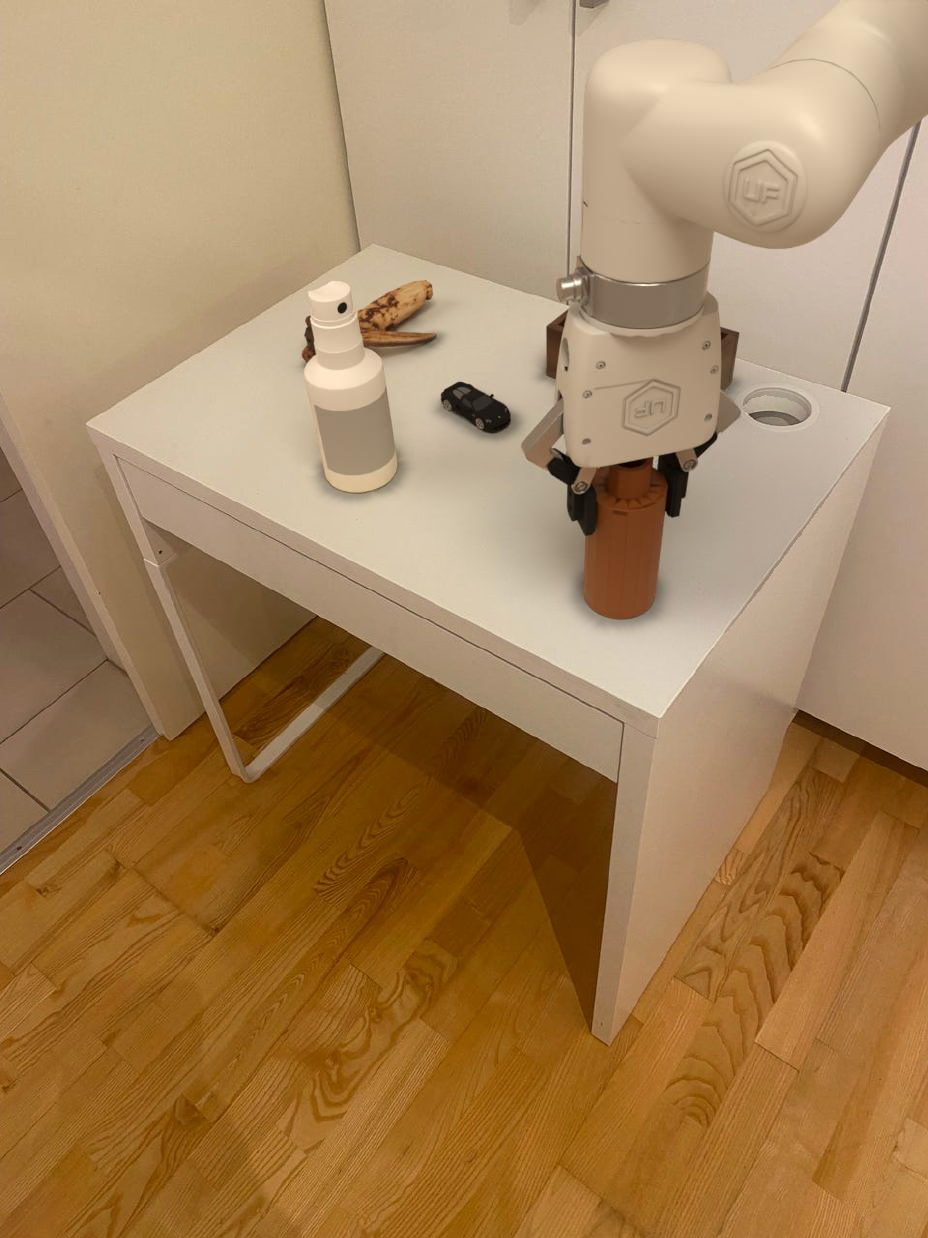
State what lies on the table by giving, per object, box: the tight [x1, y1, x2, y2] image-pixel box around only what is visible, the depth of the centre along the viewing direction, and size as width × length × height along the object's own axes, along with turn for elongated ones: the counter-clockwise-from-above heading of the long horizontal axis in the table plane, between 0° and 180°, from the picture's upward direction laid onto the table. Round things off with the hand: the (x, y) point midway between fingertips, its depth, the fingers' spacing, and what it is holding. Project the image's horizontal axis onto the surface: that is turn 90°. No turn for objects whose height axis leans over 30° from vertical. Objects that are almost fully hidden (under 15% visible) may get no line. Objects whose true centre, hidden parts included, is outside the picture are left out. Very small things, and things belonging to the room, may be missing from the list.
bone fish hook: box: [301, 279, 438, 364], centre depth 103 cm, size 9×5×18 cm
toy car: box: [440, 381, 512, 432], centre depth 93 cm, size 8×4×2 cm, turn 42°
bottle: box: [583, 456, 668, 620], centre depth 71 cm, size 6×6×14 cm
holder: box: [545, 308, 740, 392], centre depth 94 cm, size 9×16×6 cm, turn 52°
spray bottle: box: [303, 280, 399, 493], centre depth 82 cm, size 7×7×18 cm
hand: (625, 512), depth 70 cm, fingers closed on bottle, 5 cm apart
